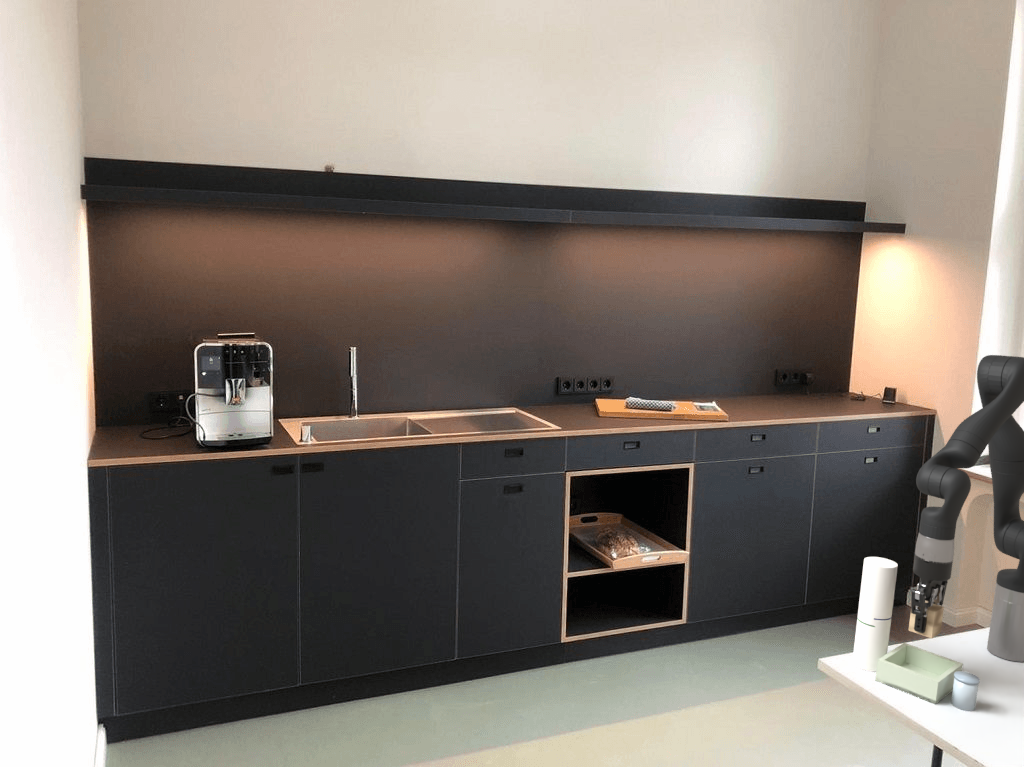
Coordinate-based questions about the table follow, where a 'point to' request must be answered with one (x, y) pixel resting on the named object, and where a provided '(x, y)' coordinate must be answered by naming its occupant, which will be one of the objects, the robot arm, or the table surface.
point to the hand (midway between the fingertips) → (924, 627)
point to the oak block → (930, 621)
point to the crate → (918, 672)
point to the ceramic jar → (965, 690)
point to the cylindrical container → (874, 612)
